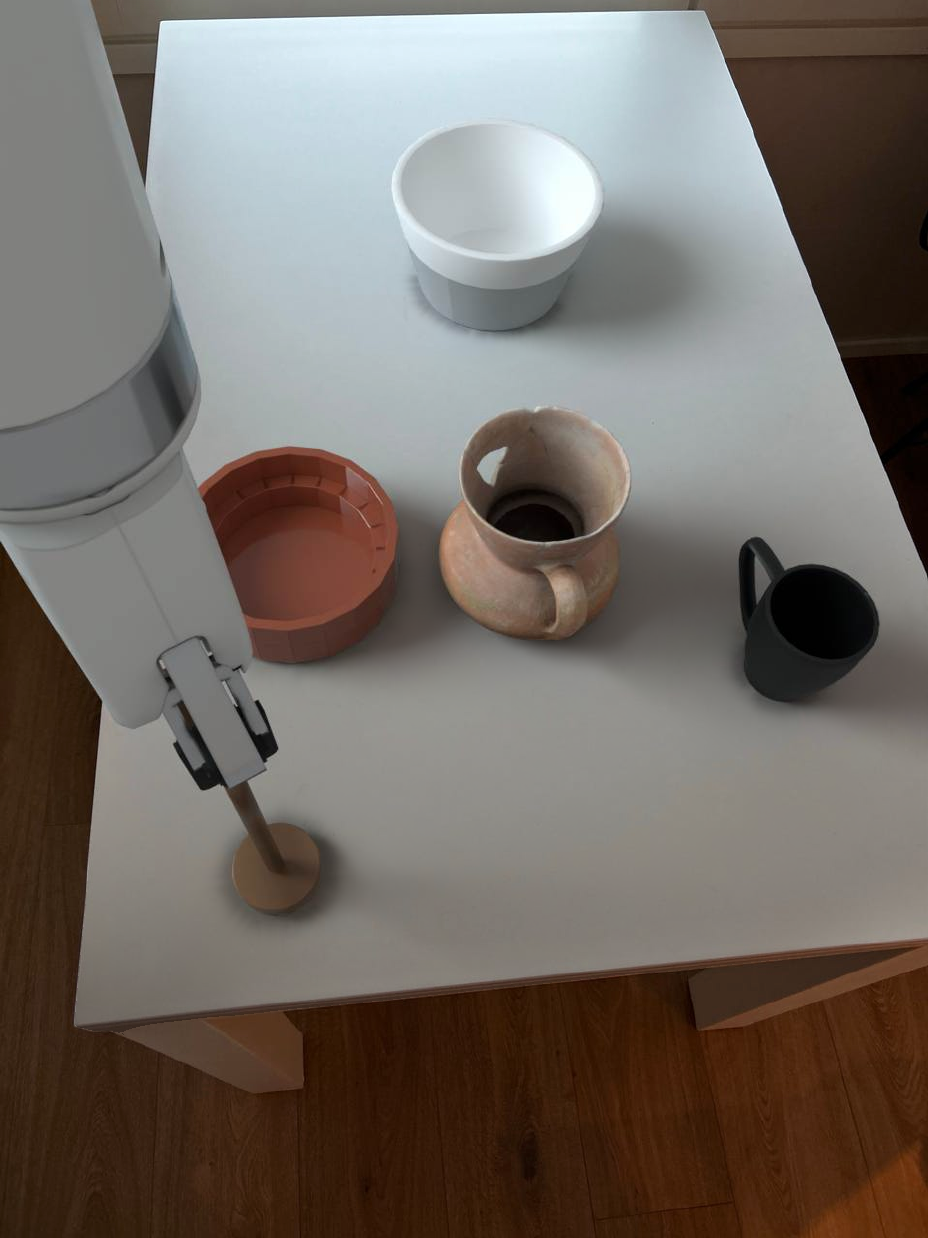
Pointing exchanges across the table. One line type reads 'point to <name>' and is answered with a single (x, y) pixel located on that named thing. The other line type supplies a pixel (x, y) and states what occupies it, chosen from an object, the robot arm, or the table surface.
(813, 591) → the mug
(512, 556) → the ceramic jug
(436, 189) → the bowl
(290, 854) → the wooden dowel plunger
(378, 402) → the table surface
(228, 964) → the table surface
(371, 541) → the mixing bowl
